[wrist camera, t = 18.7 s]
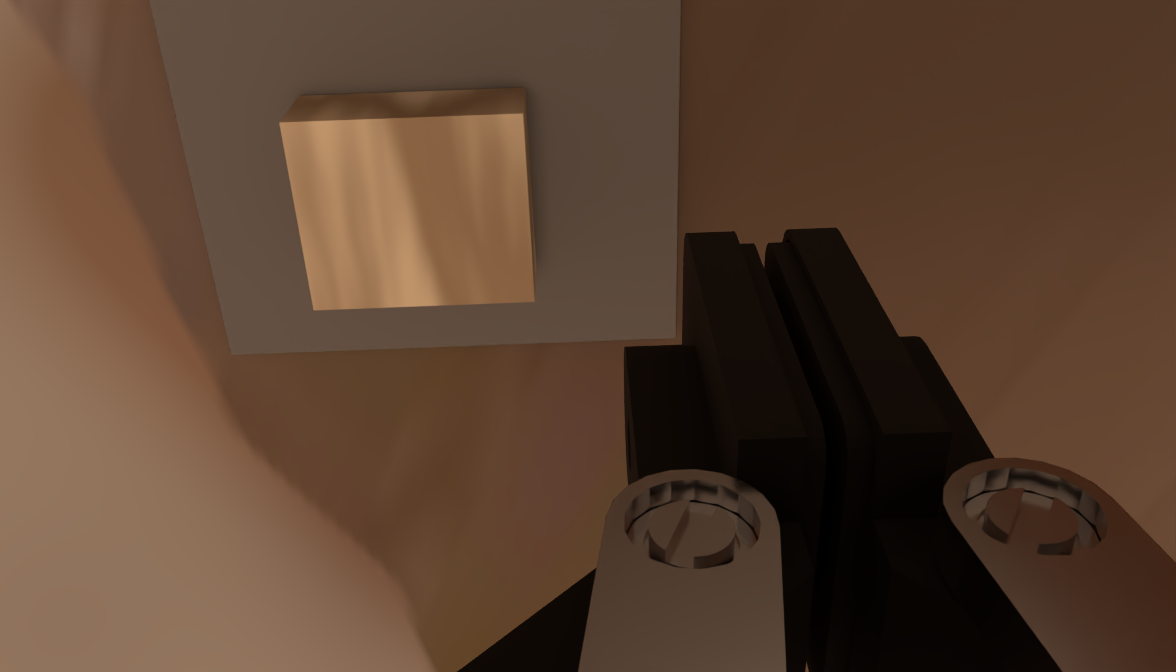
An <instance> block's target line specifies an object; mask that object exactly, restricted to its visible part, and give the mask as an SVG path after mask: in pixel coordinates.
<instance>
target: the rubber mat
mask: <svg viewBox="0 0 1176 672" xmlns="http://www.w3.org/2000/svg"><path fill="white" fill-rule="evenodd" d="M149 2H150V6H151V11H152V15H153V19H154V23H155V28H156V32H157V36H158V41H159V45H160V49H161V54H162V58H163V62H164V67H165V71H166V75H167V79H168V84H169V88H170V92H171V97H172V101H173V105H174V110H175V114H176V118H177V123H178V127H179V131H180V135H181V140H182V144H183V148H184V153H185V157H186V161H187V166H188V170H189V174H190V179H191V183H192V187H193V191H194V196H195V200H196V204H197V209H198V213H199V217H200V222H201V226H202V230H203V235H204V239H205V243H206V248H207V252H208V256H209V260H210V265H211V269H212V273H213V278H214V282H215V286H216V291H217V295H218V299H219V304H220V308H221V312H222V316H223V321H224V325H225V329H226V334H227V338H228V342H229V347H230V351H231V355H240V354H267V353H293V352H320V351H346V350H372V349H399V348H425V347H452V346H478V345H504V344H531V343H557V342H584V341H610V340H637V339H663V338H676V279H677V213H678V148H679V83H680V18H681V0H149ZM523 87H525V89H526V105H527V121H528V138H529V154H530V171H531V187H532V204H533V220H534V237H535V253H536V285H535V302H519V303H493V304H467V305H441V306H415V307H389V308H364V309H338V310H313V304H312V299H311V293H310V288H309V282H308V277H307V271H306V266H305V261H304V255H303V250H302V244H301V239H300V233H299V228H298V222H297V217H296V211H295V206H294V200H293V195H292V190H291V184H290V179H289V173H288V168H287V162H286V157H285V151H284V146H283V140H282V135H281V129H280V124H279V122H280V121H281V119H282V118H283V117H284V115H285V114H286V113H287V111H288V110H289V109H290V107H291V106H292V105H293V103H294V102H295V101H296V99H297V98H298V97H299V96H307V95H334V94H361V93H388V92H415V91H442V90H469V89H496V88H523Z"/></svg>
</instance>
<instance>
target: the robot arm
mask: <svg viewBox="0 0 1176 672" xmlns="http://www.w3.org/2000/svg"><path fill="white" fill-rule="evenodd" d="M624 404H625V439H626V460H627V476H628V486H627V487H626V488H625V489H624V490H623V491H622V492H621V493H620V494H619V495H618V496H616V497H615V498H614V499H613V501H612V503H611V506H610V508H609V510H608V513H607V515H606V518H605V524H604V529H603V535H602V541H601V546H600V552H599V557H598V563H597V568H595V569H594V570H593V571H591V572H590V573H589V574H587V575H586V576H585V577H583V578H582V579H581V580H579V581H578V582H577V583H575V584H574V585H573V586H571V587H570V588H569V589H567V590H566V591H565V592H563V593H562V594H561V595H559V596H558V597H557V598H555V599H554V600H553V601H551V602H550V603H549V604H547V605H546V606H545V607H543V608H542V609H541V610H539V611H538V612H537V613H535V614H534V615H533V616H531V617H530V618H529V619H527V620H526V621H525V622H523V623H522V624H520V625H519V626H518V627H516V628H515V629H514V630H512V631H511V632H510V633H508V634H507V635H506V636H504V637H503V638H502V639H500V640H499V641H498V642H496V643H495V644H494V645H492V646H491V647H490V648H488V649H487V650H486V651H484V652H483V653H482V654H480V655H479V656H478V657H476V658H475V659H474V660H472V661H471V662H470V663H468V664H467V665H466V666H464V667H463V668H462V669H460V670H459V671H458V672H805V668H806V662H807V665H808V669H809V672H1176V562H1175V561H1174V560H1173V559H1172V558H1171V557H1170V556H1169V555H1168V554H1167V553H1166V552H1165V551H1164V550H1163V549H1162V548H1161V547H1160V546H1159V545H1158V544H1157V543H1156V542H1155V541H1154V540H1153V539H1152V538H1151V537H1150V536H1149V535H1148V534H1147V533H1146V532H1145V531H1144V530H1143V528H1142V527H1141V526H1140V525H1139V524H1138V523H1137V522H1136V521H1135V520H1134V519H1133V518H1132V517H1131V516H1130V515H1129V514H1128V513H1127V512H1126V511H1125V510H1124V509H1123V508H1122V507H1121V506H1120V505H1119V504H1118V503H1117V502H1116V501H1115V500H1114V499H1113V498H1112V497H1111V496H1110V495H1108V494H1107V493H1106V492H1105V491H1103V490H1102V489H1101V488H1100V487H1098V486H1097V485H1096V484H1095V483H1093V482H1092V481H1090V480H1088V479H1086V478H1084V477H1082V476H1080V475H1078V474H1076V473H1074V472H1072V471H1070V470H1067V469H1064V468H1061V467H1058V466H1055V465H1052V464H1048V463H1045V462H1042V461H1035V460H1028V459H1021V458H994V456H993V454H992V453H991V451H990V449H989V448H988V446H987V444H986V443H985V441H984V439H983V438H982V436H981V434H980V433H979V431H978V429H977V428H976V426H975V424H974V423H973V421H972V419H971V418H970V416H969V414H968V413H967V411H966V409H965V408H964V406H963V404H962V403H961V401H960V399H959V398H958V396H957V394H956V393H955V391H954V389H953V388H952V386H951V385H950V383H949V381H948V380H947V378H946V376H945V375H944V373H943V371H942V370H941V368H940V366H939V365H938V363H937V361H936V360H935V358H934V356H933V355H932V353H931V351H930V350H929V348H928V346H927V345H926V343H925V342H924V341H923V340H922V339H921V338H920V337H916V336H908V337H899V336H898V334H897V332H896V331H895V329H894V327H893V325H892V324H891V322H890V320H889V318H888V317H887V315H886V313H885V311H884V309H883V308H882V306H881V304H880V302H879V301H878V299H877V297H876V295H875V293H874V292H873V290H872V288H871V286H870V285H869V283H868V281H867V279H866V277H865V276H864V274H863V272H862V270H861V269H860V267H859V265H858V263H857V261H856V260H855V258H854V256H853V254H852V253H851V251H850V249H849V247H848V246H847V244H846V242H845V240H844V238H843V237H842V235H841V233H840V231H839V230H838V229H837V228H815V229H788V230H786V232H785V234H784V237H783V242H781V243H768V244H767V247H766V252H765V265H764V267H763V265H762V262H761V259H760V257H759V254H758V251H757V249H756V246H755V244H754V243H753V244H739V241H738V238H737V235H736V233H735V231H733V232H705V233H686V234H685V239H684V258H683V319H682V345H661V346H633V347H624Z"/></svg>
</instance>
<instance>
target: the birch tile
mask: <svg viewBox="0 0 1176 672" xmlns="http://www.w3.org/2000/svg"><path fill="white" fill-rule="evenodd" d="M279 124H280V129H281V135H282V140H283V146H284V151H285V157H286V162H287V168H288V173H289V179H290V184H291V190H292V195H293V200H294V206H295V211H296V217H297V222H298V228H299V233H300V239H301V244H302V250H303V255H304V261H305V266H306V271H307V277H308V282H309V288H310V293H311V299H312V304H313V310H338V309H364V308H389V307H415V306H441V305H467V304H493V303H519V302H535V285H536V253H535V237H534V220H533V204H532V187H531V171H530V154H529V138H528V121H527V105H526V89H525V87H523V88H496V89H469V90H442V91H415V92H388V93H361V94H334V95H307V96H299V97H298V98H297V99H296V101H295V102H294V103H293V105H292V106H291V107H290V109H289V110H288V111H287V113H286V114H285V115H284V117H283V118H282V119H281V121H280V122H279Z"/></svg>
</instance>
